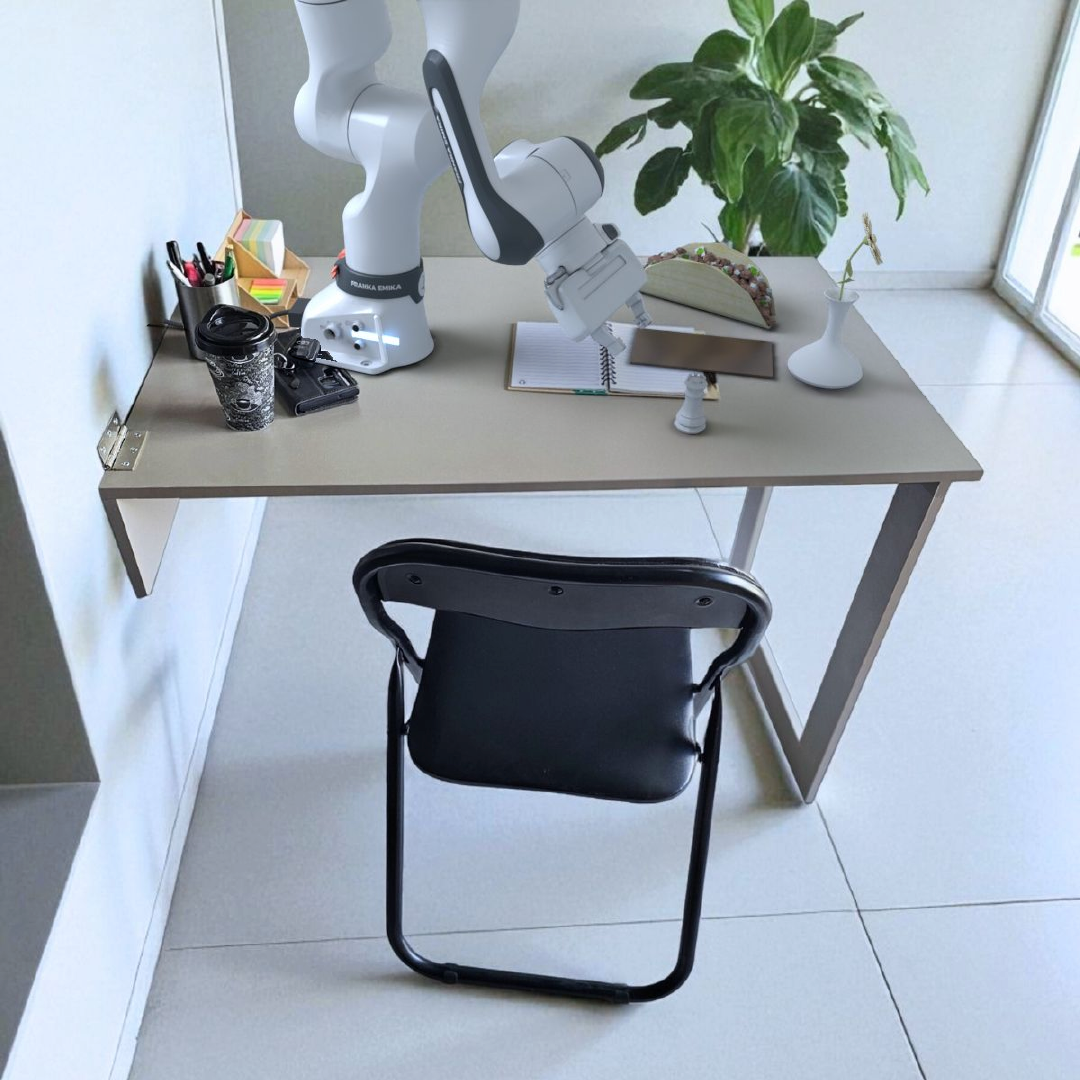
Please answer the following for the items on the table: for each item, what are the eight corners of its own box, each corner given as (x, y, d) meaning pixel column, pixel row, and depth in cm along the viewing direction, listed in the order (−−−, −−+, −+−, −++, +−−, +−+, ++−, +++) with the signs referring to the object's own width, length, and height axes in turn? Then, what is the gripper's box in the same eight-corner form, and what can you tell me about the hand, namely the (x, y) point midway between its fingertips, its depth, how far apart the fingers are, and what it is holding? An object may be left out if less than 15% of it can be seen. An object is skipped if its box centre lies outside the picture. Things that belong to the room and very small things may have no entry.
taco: (762, 339, 171) (773, 280, 165) (619, 296, 182) (624, 240, 176) (784, 318, 178) (795, 261, 171) (645, 278, 188) (650, 223, 182)
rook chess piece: (704, 437, 146) (711, 387, 141) (672, 432, 147) (679, 382, 142) (706, 421, 150) (714, 371, 145) (675, 417, 150) (682, 367, 145)
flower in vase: (845, 403, 155) (886, 241, 140) (774, 381, 160) (805, 221, 144) (873, 369, 164) (914, 213, 149) (804, 349, 169) (837, 196, 153)
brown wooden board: (630, 363, 163) (630, 361, 162) (636, 329, 172) (637, 327, 172) (772, 379, 160) (773, 376, 160) (771, 343, 170) (771, 341, 169)
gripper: (555, 270, 131) (620, 359, 133) (620, 219, 145) (677, 300, 148) (522, 295, 135) (586, 381, 138) (589, 243, 150) (645, 322, 152)
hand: (634, 338), depth 143 cm, fingers open, 8 cm apart
